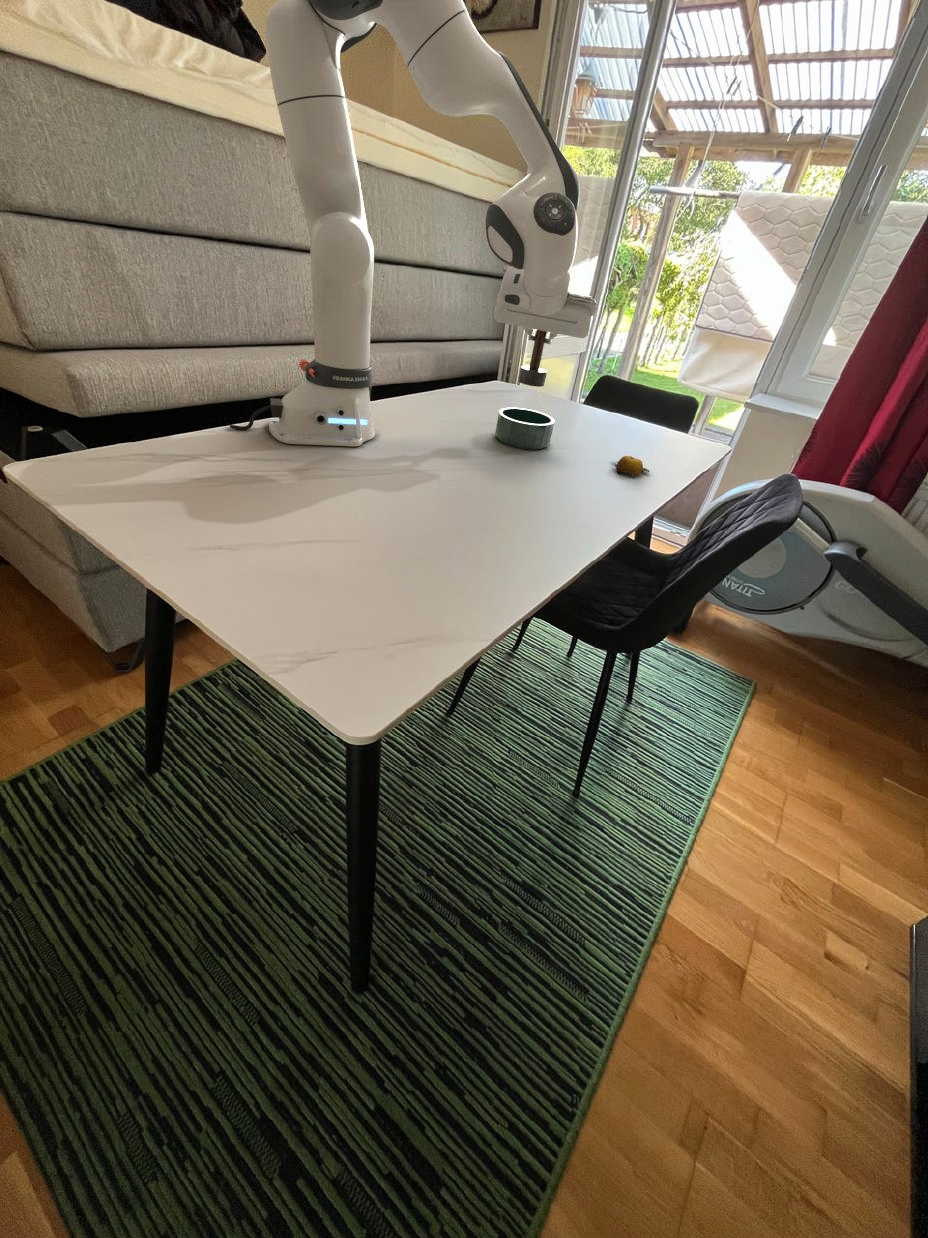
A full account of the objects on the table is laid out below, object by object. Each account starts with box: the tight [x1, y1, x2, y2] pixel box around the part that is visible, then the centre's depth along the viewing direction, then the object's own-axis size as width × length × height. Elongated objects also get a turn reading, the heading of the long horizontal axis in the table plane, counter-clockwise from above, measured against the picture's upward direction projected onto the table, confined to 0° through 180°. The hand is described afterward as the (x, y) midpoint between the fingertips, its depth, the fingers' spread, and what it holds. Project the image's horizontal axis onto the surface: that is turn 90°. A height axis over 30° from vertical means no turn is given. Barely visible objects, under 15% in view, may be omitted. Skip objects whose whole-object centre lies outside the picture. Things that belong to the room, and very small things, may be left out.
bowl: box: [494, 407, 555, 451], centre depth 127 cm, size 14×14×6 cm
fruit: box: [614, 455, 651, 477], centre depth 119 cm, size 8×8×4 cm
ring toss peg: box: [517, 330, 548, 388], centre depth 113 cm, size 6×6×16 cm
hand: (540, 339), depth 113 cm, fingers closed on ring toss peg, 2 cm apart
